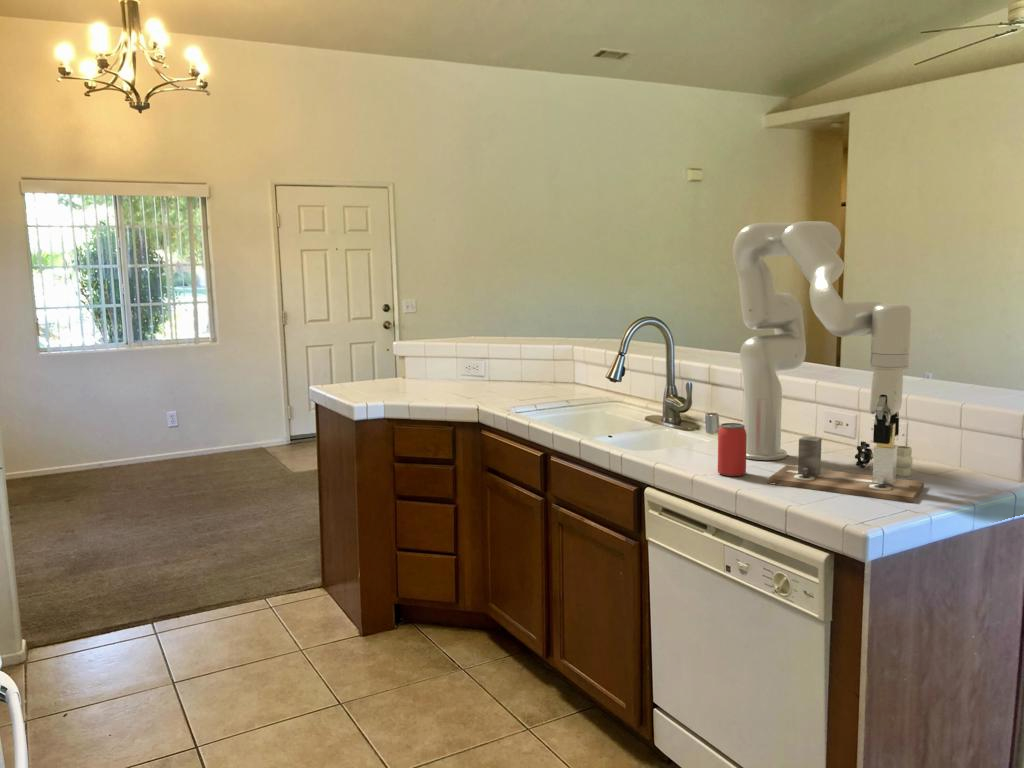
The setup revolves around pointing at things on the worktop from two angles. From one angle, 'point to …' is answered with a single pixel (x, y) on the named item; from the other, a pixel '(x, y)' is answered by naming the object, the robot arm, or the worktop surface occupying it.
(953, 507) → the worktop surface
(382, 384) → the worktop surface
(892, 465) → the block
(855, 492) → the bolt plate
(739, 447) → the beer can
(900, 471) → the valve
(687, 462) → the worktop surface
